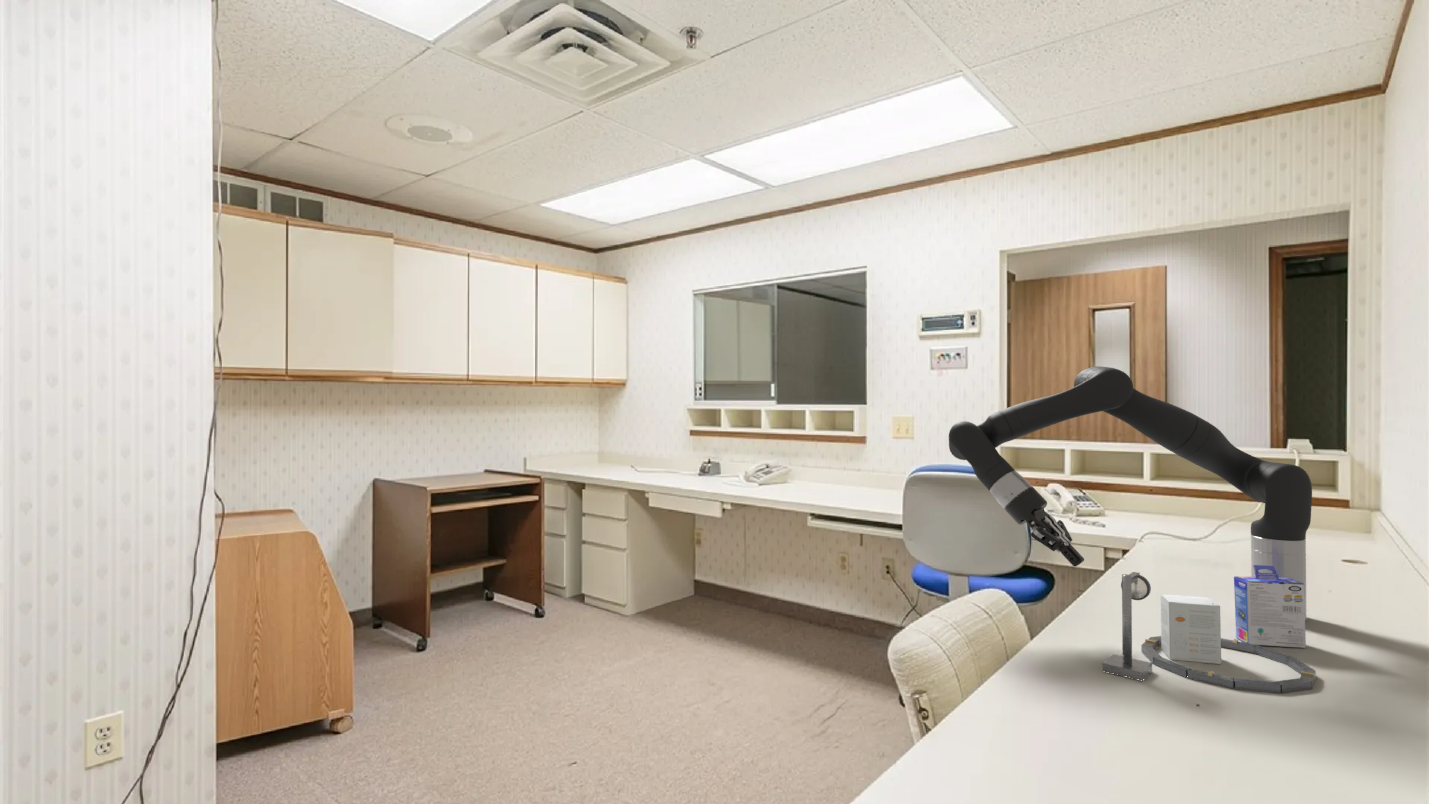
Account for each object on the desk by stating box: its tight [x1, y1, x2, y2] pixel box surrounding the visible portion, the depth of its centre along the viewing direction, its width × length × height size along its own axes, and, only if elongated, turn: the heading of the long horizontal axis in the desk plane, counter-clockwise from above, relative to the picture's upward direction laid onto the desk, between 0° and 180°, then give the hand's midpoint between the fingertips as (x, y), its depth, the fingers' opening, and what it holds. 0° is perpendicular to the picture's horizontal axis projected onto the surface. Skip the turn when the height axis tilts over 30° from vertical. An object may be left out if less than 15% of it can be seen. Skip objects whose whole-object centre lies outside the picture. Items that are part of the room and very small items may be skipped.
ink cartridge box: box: [1233, 565, 1307, 649], centre depth 133 cm, size 10×6×14 cm, turn 78°
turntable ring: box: [1141, 635, 1317, 694], centre depth 122 cm, size 24×24×2 cm
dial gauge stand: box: [1102, 571, 1153, 682], centre depth 120 cm, size 9×6×16 cm, turn 135°
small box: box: [1160, 593, 1222, 665], centre depth 125 cm, size 8×6×10 cm
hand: (1079, 563), depth 139 cm, fingers closed
